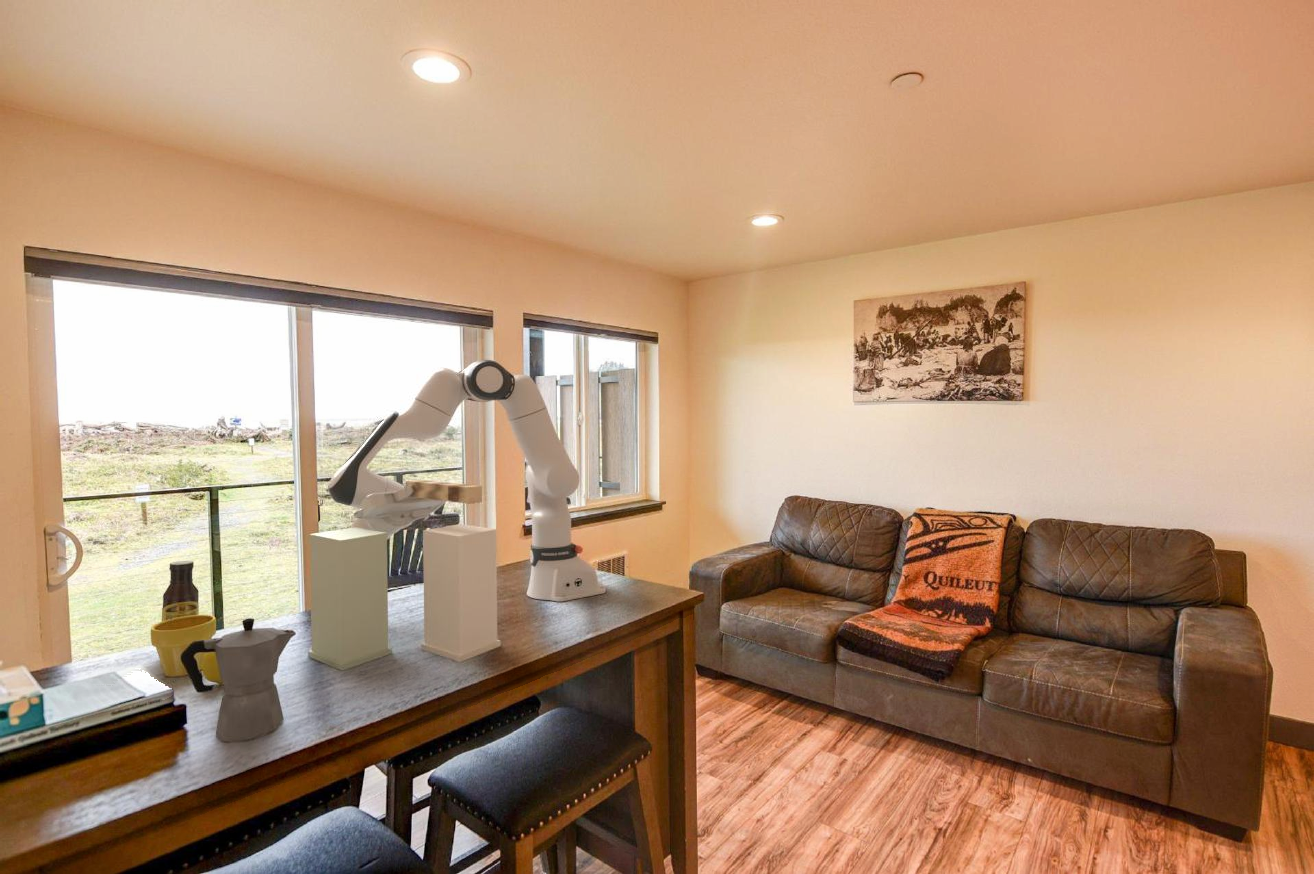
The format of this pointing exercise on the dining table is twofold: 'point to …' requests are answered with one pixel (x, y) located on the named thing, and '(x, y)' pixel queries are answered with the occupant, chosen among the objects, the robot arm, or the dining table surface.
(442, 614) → the white pedestal
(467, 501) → the beech block
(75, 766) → the dining table surface
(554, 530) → the robot arm
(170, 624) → the plant pot
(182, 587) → the sauce bottle
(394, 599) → the dining table surface
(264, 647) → the coffeepot
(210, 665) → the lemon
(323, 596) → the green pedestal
